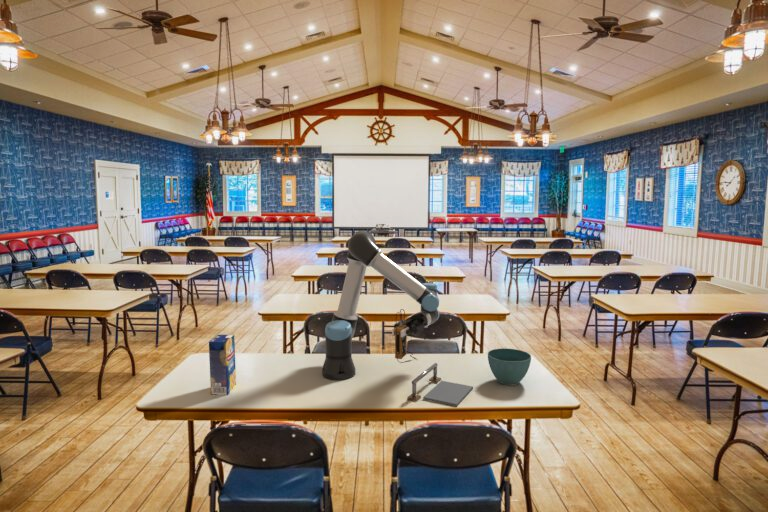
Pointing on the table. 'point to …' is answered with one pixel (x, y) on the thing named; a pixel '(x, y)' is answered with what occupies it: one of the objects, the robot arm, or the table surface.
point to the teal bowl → (509, 365)
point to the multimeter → (401, 341)
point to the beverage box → (222, 364)
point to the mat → (448, 393)
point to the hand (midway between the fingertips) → (397, 333)
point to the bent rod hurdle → (432, 379)
